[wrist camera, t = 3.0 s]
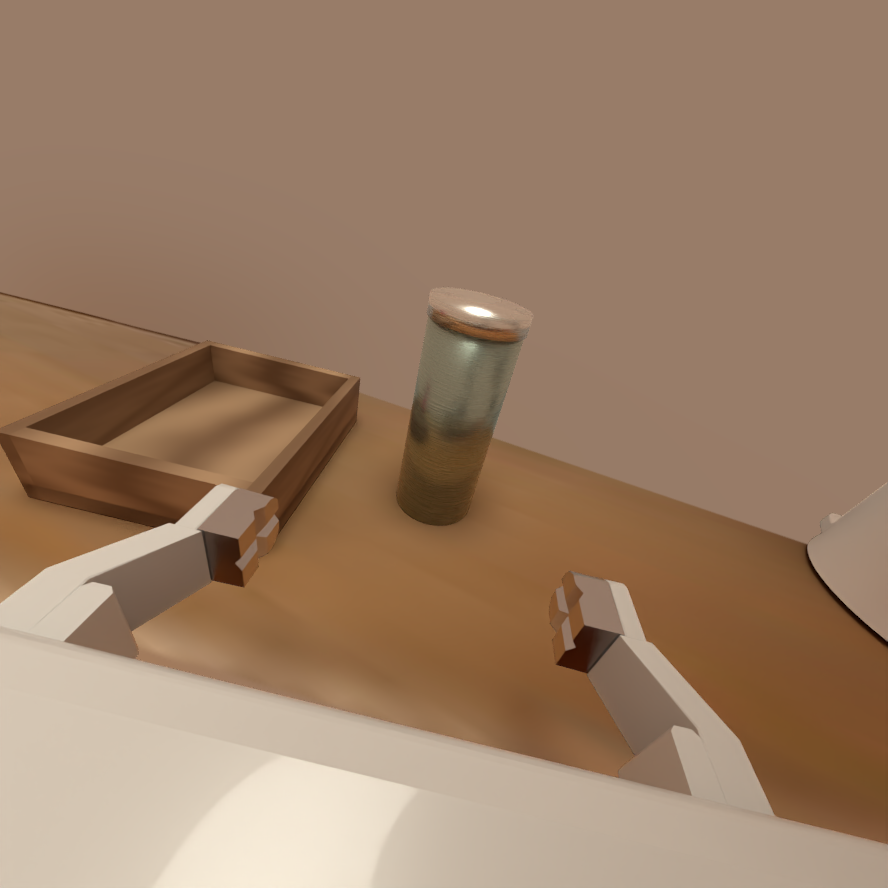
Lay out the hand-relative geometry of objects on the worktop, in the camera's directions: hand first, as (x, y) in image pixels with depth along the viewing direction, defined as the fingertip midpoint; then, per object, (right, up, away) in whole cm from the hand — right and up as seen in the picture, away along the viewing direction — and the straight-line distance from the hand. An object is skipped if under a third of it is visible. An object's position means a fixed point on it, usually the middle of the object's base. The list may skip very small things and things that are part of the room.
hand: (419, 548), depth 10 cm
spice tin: (0, -1, +15) cm, 15 cm away
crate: (-14, +3, +15) cm, 20 cm away
